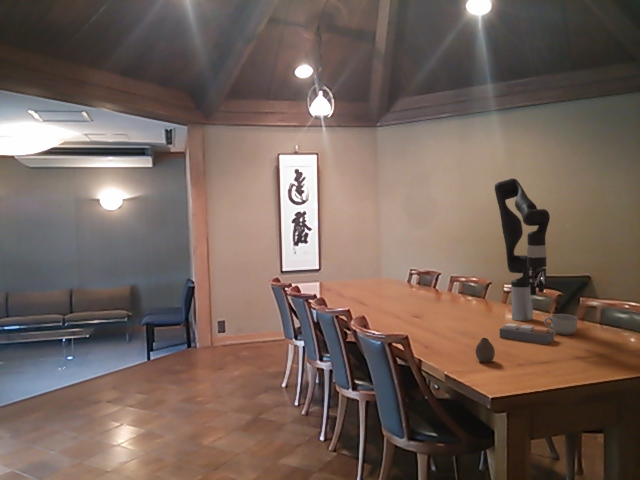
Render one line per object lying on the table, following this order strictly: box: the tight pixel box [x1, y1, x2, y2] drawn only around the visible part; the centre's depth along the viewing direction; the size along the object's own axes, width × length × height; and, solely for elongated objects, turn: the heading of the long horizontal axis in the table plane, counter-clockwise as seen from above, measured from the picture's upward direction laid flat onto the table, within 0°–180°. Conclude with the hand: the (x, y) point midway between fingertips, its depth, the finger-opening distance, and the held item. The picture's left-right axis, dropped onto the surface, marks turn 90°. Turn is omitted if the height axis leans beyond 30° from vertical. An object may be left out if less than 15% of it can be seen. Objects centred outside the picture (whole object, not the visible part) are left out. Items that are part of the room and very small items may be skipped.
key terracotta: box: [534, 326, 550, 334], centre depth 207 cm, size 5×5×2 cm
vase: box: [475, 337, 496, 364], centre depth 183 cm, size 7×7×9 cm
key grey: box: [519, 324, 535, 332], centre depth 212 cm, size 5×5×2 cm
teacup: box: [543, 313, 578, 336], centre depth 219 cm, size 14×11×8 cm
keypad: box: [499, 326, 555, 345], centre depth 212 cm, size 20×8×4 cm, turn 46°
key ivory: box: [503, 323, 520, 330], centre depth 216 cm, size 5×5×2 cm
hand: (537, 293), depth 207 cm, fingers open, 8 cm apart
